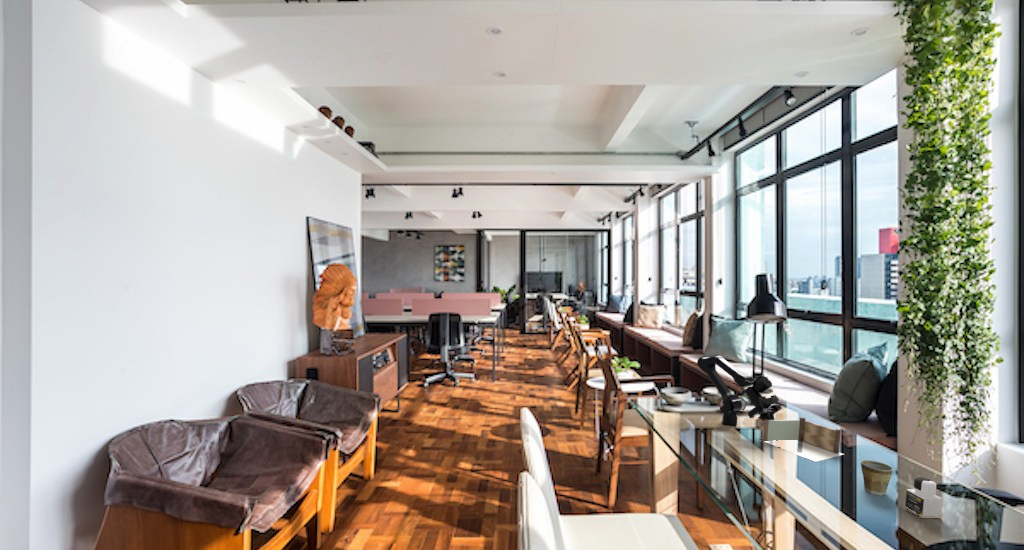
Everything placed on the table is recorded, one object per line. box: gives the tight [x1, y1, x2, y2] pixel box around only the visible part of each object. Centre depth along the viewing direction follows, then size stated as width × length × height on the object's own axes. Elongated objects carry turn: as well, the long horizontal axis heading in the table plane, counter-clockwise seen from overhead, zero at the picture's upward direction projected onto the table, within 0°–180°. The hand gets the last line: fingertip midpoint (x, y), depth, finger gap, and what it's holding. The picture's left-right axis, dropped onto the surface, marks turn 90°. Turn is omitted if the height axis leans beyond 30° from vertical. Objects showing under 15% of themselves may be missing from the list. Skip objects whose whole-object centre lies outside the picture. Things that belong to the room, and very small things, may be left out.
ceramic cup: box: [860, 459, 894, 496], centre depth 200 cm, size 13×10×10 cm
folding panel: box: [762, 419, 800, 441], centre depth 249 cm, size 18×2×10 cm, turn 101°
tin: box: [717, 395, 747, 411], centre depth 298 cm, size 15×3×8 cm, turn 84°
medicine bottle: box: [904, 476, 943, 517], centre depth 182 cm, size 7×7×12 cm
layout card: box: [792, 440, 845, 463], centre depth 243 cm, size 28×22×1 cm
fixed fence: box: [798, 416, 842, 454], centre depth 244 cm, size 19×2×11 cm, turn 30°
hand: (775, 427), depth 250 cm, fingers closed
